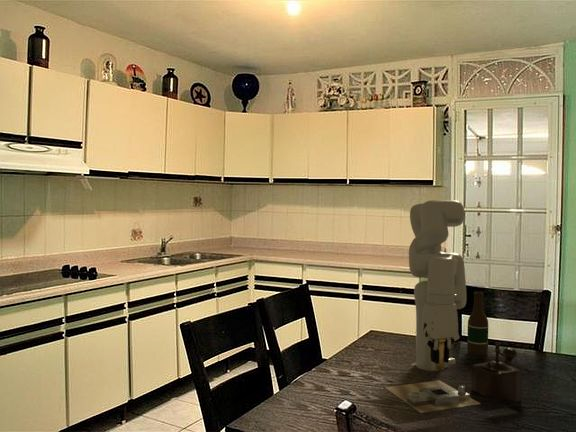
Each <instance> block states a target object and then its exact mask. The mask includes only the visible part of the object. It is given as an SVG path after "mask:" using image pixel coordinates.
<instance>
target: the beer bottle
mask: <svg viewBox="0 0 576 432" xmlns="http://www.w3.org/2000/svg"><path fill="white" fill-rule="evenodd" d="M473 296H474V298H473V305H472V306H473V307H472V312H471V314H470V315H469V317H468V320H467V336H466V337H467V342H466V343H467V344H466V345H467V348H466V350H467V351H466V352H467V353H468V354H470V355H472V354H473V355H474V356H481V357H482V356H487V354H488V351H489V319H488V316H487V315H486V314H485V311H484V292H483V291H474V292H473ZM473 355H472V356H473Z"/></svg>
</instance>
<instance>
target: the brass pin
mask: <svg viewBox="0 0 576 432" xmlns="http://www.w3.org/2000/svg"><path fill="white" fill-rule="evenodd" d="M445 342H446V339H438V349H437V350H439V364H436V363H435V369H437V370H439V371H444V370H445V368H444V353H445Z"/></svg>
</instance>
